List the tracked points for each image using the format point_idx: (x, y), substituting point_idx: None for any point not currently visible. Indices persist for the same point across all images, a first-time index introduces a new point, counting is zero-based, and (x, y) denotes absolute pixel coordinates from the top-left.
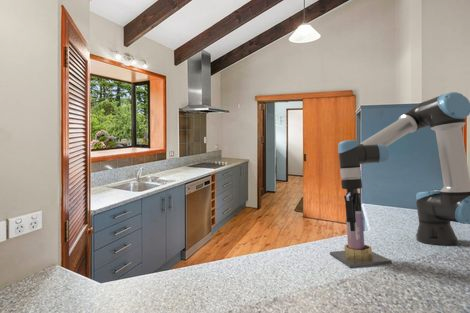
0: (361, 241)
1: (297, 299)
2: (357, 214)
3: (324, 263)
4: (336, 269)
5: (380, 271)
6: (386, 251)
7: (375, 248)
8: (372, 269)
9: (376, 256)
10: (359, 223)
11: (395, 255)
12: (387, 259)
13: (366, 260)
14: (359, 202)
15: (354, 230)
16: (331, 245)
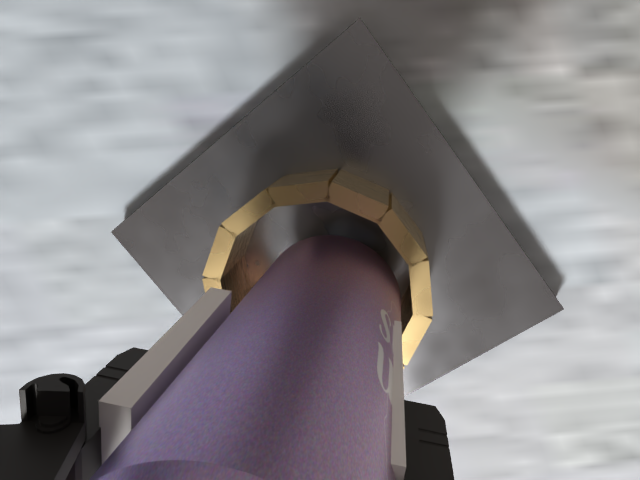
0: (372, 281)
1: None
2: None
3: (505, 451)
4: (614, 374)
5: (577, 95)
6: (45, 82)
7: (5, 167)
8: (545, 153)
9: (290, 141)
10: (360, 406)
11: (121, 8)
12: (342, 52)
13: (424, 205)
14: None
15: (435, 412)
16: None
